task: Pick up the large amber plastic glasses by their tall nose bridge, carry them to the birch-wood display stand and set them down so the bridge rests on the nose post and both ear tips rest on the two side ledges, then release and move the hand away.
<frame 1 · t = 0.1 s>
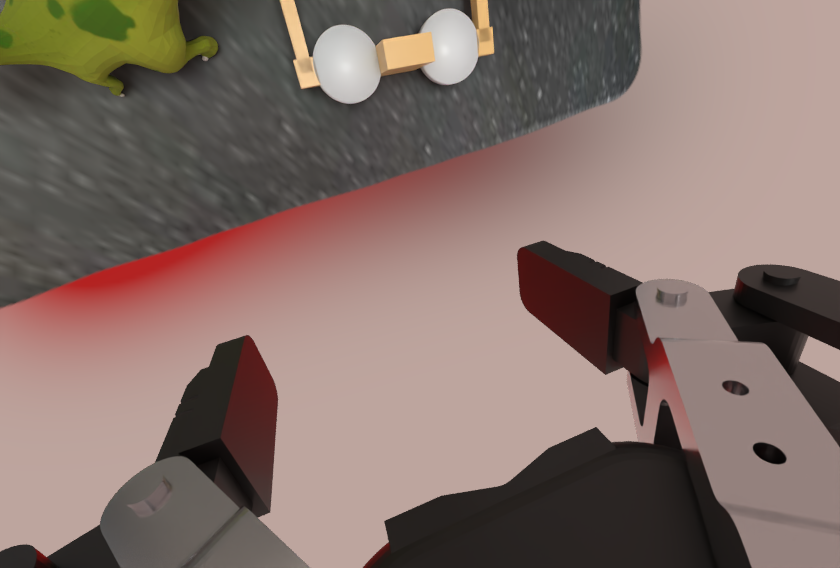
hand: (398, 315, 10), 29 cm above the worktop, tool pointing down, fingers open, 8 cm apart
glasses: (392, 61, 33), on the worktop
toy: (129, 31, 28), on the worktop
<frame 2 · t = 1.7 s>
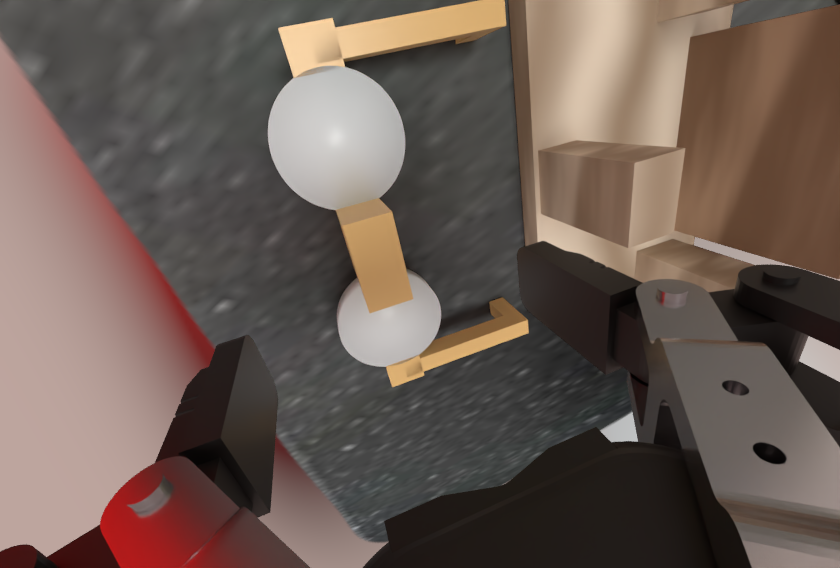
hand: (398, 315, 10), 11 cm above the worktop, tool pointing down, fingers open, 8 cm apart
glasses: (360, 227, 20), on the worktop
display stand: (542, 174, 22), on the worktop
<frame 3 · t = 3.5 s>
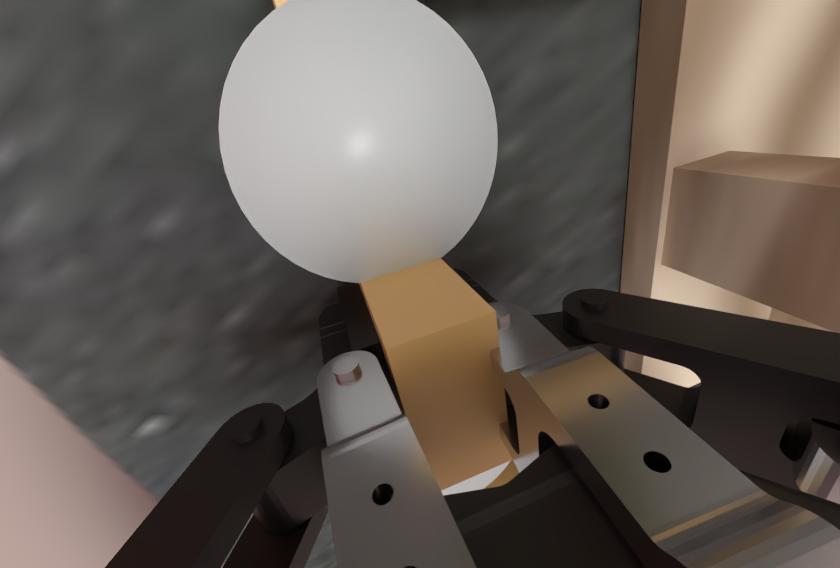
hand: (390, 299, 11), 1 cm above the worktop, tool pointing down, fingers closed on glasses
glasses: (390, 288, 12), on the worktop, touching gripper
display stand: (657, 202, 14), on the worktop
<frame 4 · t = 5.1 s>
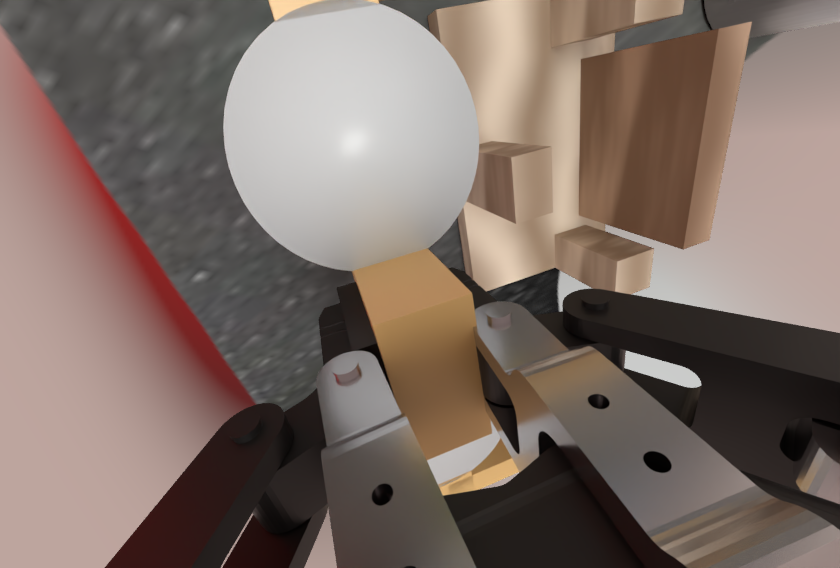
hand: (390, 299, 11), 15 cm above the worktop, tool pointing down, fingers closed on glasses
glasses: (383, 279, 13), point 13 cm above the worktop, touching gripper
display stand: (469, 169, 26), on the worktop
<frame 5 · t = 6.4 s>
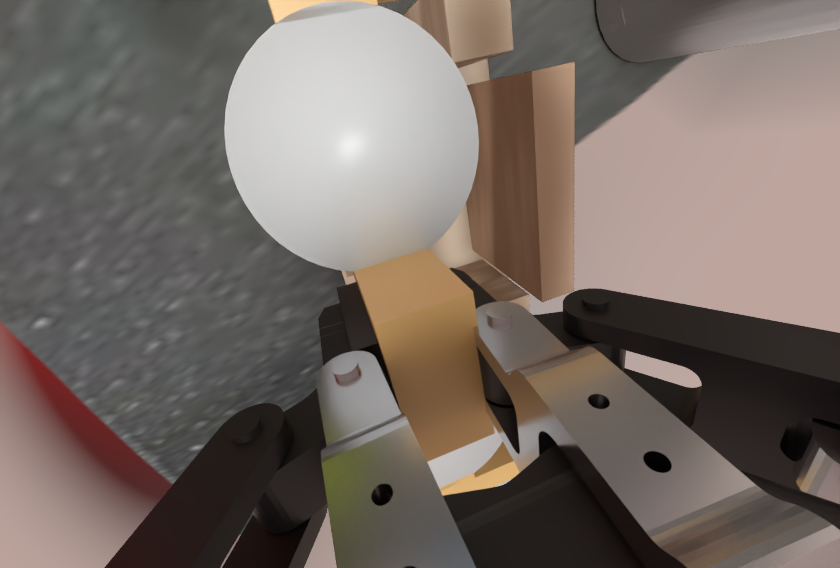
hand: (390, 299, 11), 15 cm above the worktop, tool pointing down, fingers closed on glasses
glasses: (385, 281, 13), point 13 cm above the worktop, touching gripper
display stand: (343, 205, 25), on the worktop
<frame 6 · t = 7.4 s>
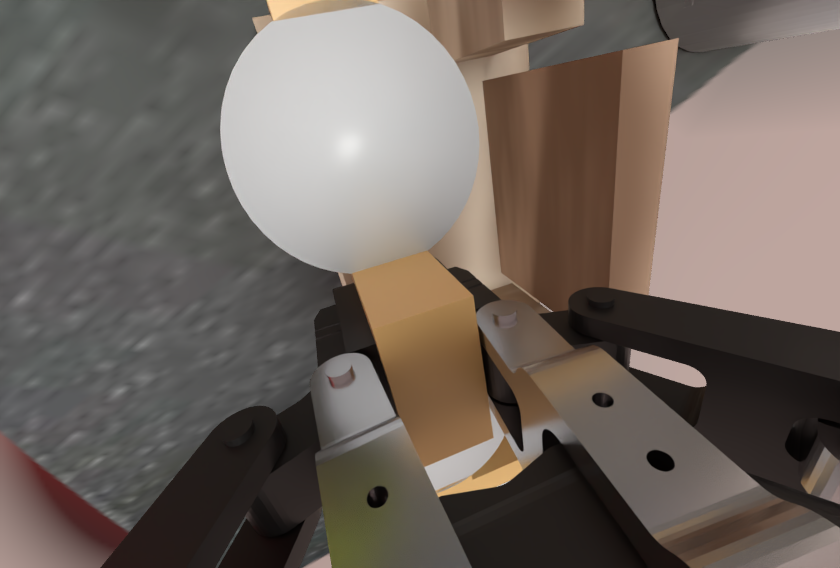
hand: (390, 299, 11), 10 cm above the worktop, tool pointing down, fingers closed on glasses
glasses: (383, 282, 13), point 9 cm above the worktop, touching gripper
display stand: (349, 221, 20), on the worktop
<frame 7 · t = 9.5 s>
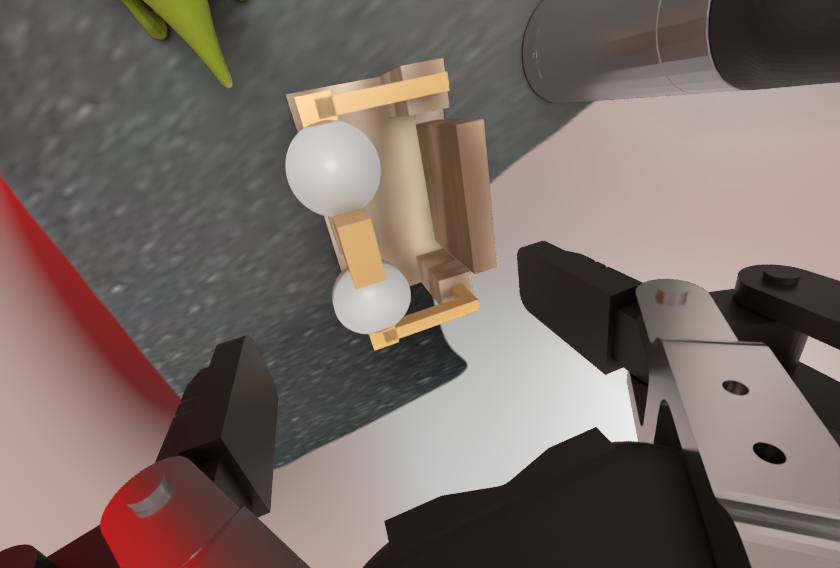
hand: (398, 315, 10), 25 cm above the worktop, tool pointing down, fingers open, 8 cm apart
glasses: (349, 228, 26), point 8 cm above the worktop, touching display stand
display stand: (338, 205, 33), on the worktop
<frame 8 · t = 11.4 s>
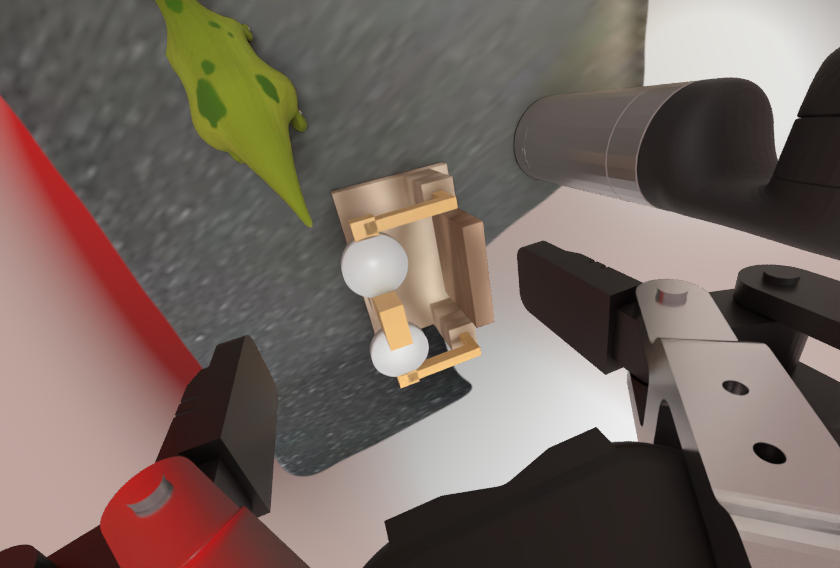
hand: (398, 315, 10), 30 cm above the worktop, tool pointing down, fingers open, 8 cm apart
glasses: (382, 297, 35), point 8 cm above the worktop, touching display stand
display stand: (368, 268, 42), on the worktop
toy: (239, 88, 32), on the worktop
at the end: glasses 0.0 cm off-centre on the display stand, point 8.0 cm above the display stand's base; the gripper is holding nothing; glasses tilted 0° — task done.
